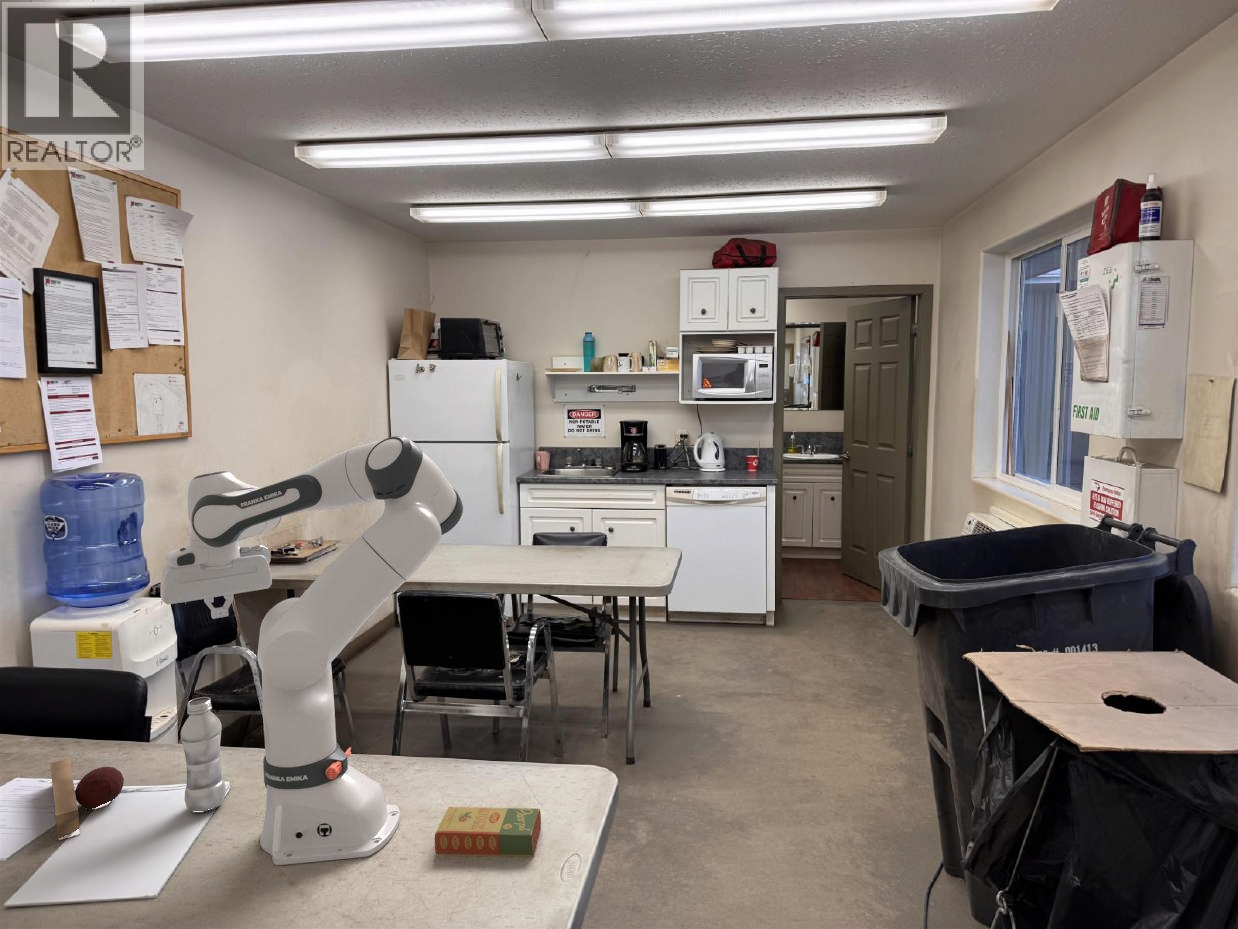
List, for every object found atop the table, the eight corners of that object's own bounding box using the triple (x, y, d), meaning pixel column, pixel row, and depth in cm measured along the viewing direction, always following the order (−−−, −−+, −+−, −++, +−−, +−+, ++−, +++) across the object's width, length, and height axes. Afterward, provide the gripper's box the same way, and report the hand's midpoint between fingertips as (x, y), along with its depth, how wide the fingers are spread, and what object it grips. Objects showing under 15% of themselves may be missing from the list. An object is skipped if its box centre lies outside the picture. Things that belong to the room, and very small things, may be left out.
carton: (449, 828, 130) (448, 804, 130) (542, 830, 129) (541, 806, 129) (434, 857, 122) (433, 832, 121) (533, 859, 121) (533, 834, 120)
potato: (129, 788, 144) (126, 753, 144) (119, 811, 137) (116, 774, 136) (83, 797, 142) (80, 761, 141) (70, 820, 134) (67, 782, 133)
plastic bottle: (176, 814, 135) (168, 706, 133) (208, 795, 141) (200, 692, 140) (204, 820, 133) (196, 711, 131) (235, 800, 139) (228, 696, 138)
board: (71, 780, 148) (69, 758, 148) (80, 834, 129) (77, 809, 129) (52, 785, 146) (50, 763, 146) (58, 841, 127) (56, 816, 127)
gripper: (266, 541, 163) (269, 604, 165) (156, 555, 151) (161, 623, 152) (273, 546, 159) (277, 610, 160) (161, 560, 146) (166, 630, 147)
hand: (220, 617), depth 156 cm, fingers closed
